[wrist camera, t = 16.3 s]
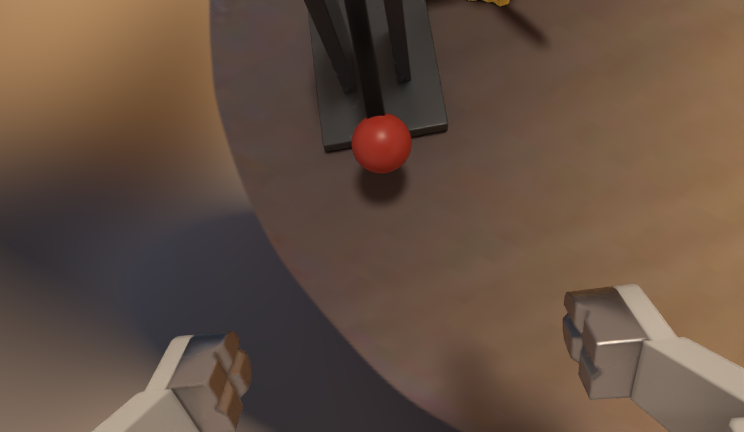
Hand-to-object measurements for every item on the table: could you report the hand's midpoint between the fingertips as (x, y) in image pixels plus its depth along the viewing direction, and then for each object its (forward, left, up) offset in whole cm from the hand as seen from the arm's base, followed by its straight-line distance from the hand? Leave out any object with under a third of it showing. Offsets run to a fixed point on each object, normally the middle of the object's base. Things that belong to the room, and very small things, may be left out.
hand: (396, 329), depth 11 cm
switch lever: (+13, +8, -12) cm, 20 cm away
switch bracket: (+16, +10, -19) cm, 27 cm away
